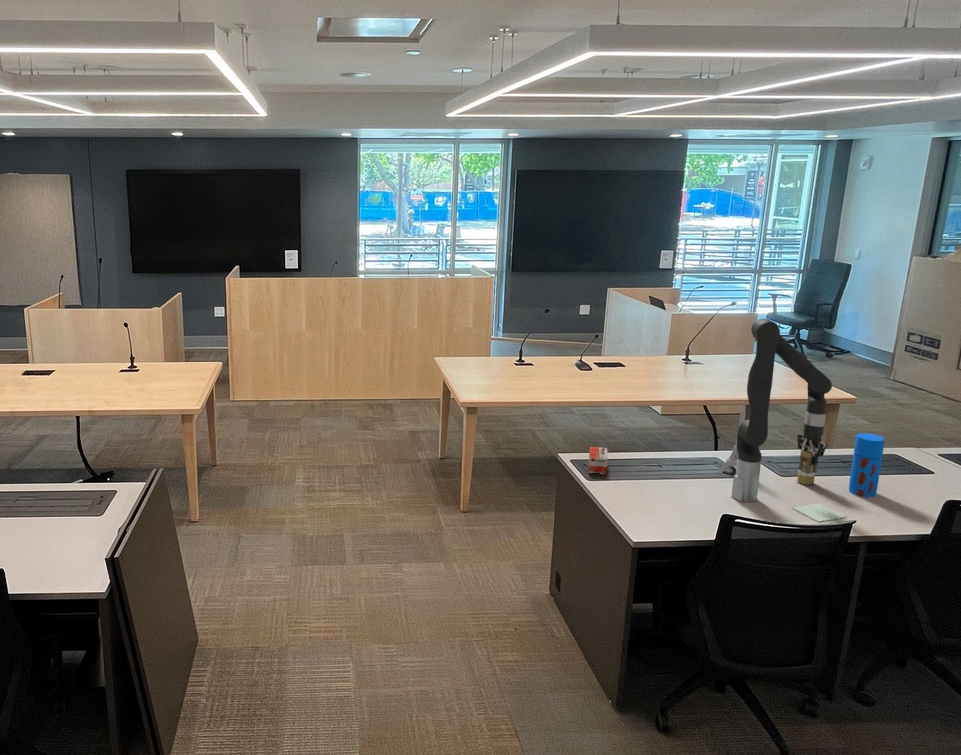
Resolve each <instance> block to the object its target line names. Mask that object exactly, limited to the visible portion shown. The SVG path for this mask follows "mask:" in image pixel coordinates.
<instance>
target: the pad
mask: <svg viewBox="0 0 961 755" xmlns="http://www.w3.org/2000/svg"><path fill="white" fill-rule="evenodd" d="M791 509H792V510H794V511H796V512H797V513H800V514H802V515H804V516H805V517H808V518H809V519H811V520H813V521H815V522H817V523H822V522H829V521H835V520H839V519H841V520H842V519H846V518H847V516H846V515H843V514H842V513H840V512H838V511H835V510H833V509H831V508H830V507H827V506H825V505H824V504H821V503H813V504H812V503H811V504H806V505H800V506H799V505H798V506H795V507H794V506H793V507H792V508H791Z"/></svg>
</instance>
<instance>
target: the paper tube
mask: <svg viewBox="0 0 961 755" xmlns="http://www.w3.org/2000/svg"><path fill="white" fill-rule="evenodd" d="M802 434H804V433H803V432H802ZM814 449H816V448H814ZM808 450H811V448H810V447H809V449H808ZM815 452H816V451H815ZM811 462H812V461H811ZM799 464H800V461H799ZM799 464H798V465H799ZM806 464H807V460H806V461H804V462H803V469H802V470H799V469H797V470H798V472H797V482H798V483H799V484H801V485H805V486H811V485H813V484H814V482H815V475H816V473H814V472H813V467H814V465H810V472H809V473H808V474H807V473H806Z"/></svg>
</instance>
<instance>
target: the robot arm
mask: <svg viewBox="0 0 961 755" xmlns="http://www.w3.org/2000/svg"><path fill="white" fill-rule="evenodd" d="M750 331H751V335H752V336H753V338H754V339H755V340H756V349H755V350H756V352H755V357H754V360H753V361H752V364H751V366H750V369H749V371H748V372H749V373H748V376H747V383H746V384H747V385H746V393H747V394H746V395H747V400H748V405H749V411H750V412H749V419H745V420H744V421H743V422H742V423H741V424H740V423H739V425H740V426H739V425H738V429H737V435H736V436H737V437H736V440H737V452H738V459H737V467H736V470H735V474H734V475H733V479H732V480H733V481H732V487H731V498H734V499H736V500H737V501H738V502H745V503H754V502H756V501H757V500H758V498H757V497H758V491H759V482H760V476H761V474H760V473H761V465H762V458H763V457H762V455H763V454H762V453H761V450H760V446H761V447H762V445H763V444H765V442H766V441H767V439H768V432H769V431H768V430H769V428H768V427H769V426H768V425H769V424H768V422H769V408H770V402H771V393H772V388H773V387H772V386H773V379H774V378H773V377H774V369H775V368H774V367H775V357H776V355H777V356H778V357H779V358H781V360H782V361H783V362H784V363H785V364H786V365H787V367H788V368H790V369H791V370H792V371H793V372H794V373H795V374H796V376H798V377H800V378H801V379H802V380H804V381H805V382H806V383H807V400H808V401H807V405H806V411H805V412H806V413H805V416H804V422H803V429H802V433H799V434H797V435H796V436H797V449H798V450H800V452H801V451H807V450H808V449H809V447H810V448H811V451H812V453H813V456H812V462H811V465H816V464H817V463H819V460H818V457H819V458H820V457H823V456H824V454H825V452H826V449H827V446H828V444H827V443H824V442H823V441H822V437H823V435H824V429H825V423H826V412H827V405H828V404H827V400H826V398H825V395H826V394H828V393H829V392H830V391H832V388H833V383H832V381H831V379H830V378H829V377H827V376H826V375H825V374H824V373H823V372H822V371H821V370H819V369H818V368H816V366H815V365H814V363H812V362H811V361H810V360H809V359H808V358H807V357H806V356H805V355H804V354H803V353H801V351H799V350H798V349H797V348H795V347H794V346H793V345H792V344H791V343H789V342H788V341H787V340H786V339H785V338H784V337H783V336H782V335H781V329H780V327H779V325H778V324H777V323H776V322H774V321H773V320H770V319H769V318H768V319H767V318H759V319H757V320H755V321H754V322H753V323H752V326H751V330H750ZM803 433H804V434H803ZM814 448H816V449H814ZM815 451H816V452H815ZM804 461H806V459H804Z"/></svg>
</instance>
